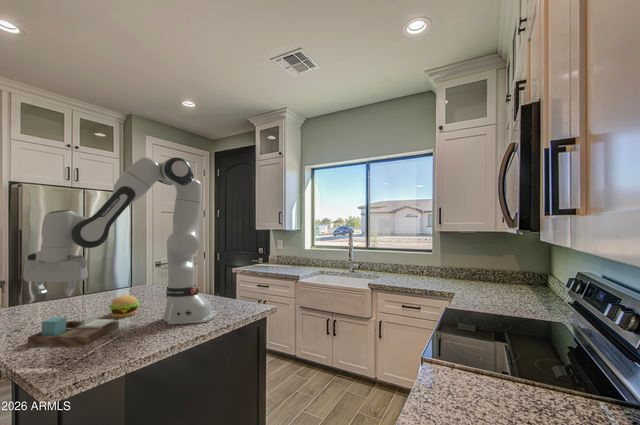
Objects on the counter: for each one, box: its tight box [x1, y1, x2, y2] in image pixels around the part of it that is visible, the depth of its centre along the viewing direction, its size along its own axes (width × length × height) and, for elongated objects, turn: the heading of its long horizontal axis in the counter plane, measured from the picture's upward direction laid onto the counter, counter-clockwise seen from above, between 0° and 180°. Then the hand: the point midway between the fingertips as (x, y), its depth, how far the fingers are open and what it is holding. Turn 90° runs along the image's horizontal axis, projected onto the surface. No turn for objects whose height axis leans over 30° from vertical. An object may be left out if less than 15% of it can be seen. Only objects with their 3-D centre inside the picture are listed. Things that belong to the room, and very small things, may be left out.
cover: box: [78, 314, 115, 328], centre depth 111 cm, size 8×8×3 cm
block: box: [41, 316, 67, 336], centre depth 103 cm, size 4×4×7 cm
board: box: [27, 320, 120, 346], centre depth 107 cm, size 20×16×4 cm
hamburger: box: [108, 294, 141, 318], centre depth 135 cm, size 12×12×9 cm
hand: (55, 293), depth 103 cm, fingers open, 8 cm apart
